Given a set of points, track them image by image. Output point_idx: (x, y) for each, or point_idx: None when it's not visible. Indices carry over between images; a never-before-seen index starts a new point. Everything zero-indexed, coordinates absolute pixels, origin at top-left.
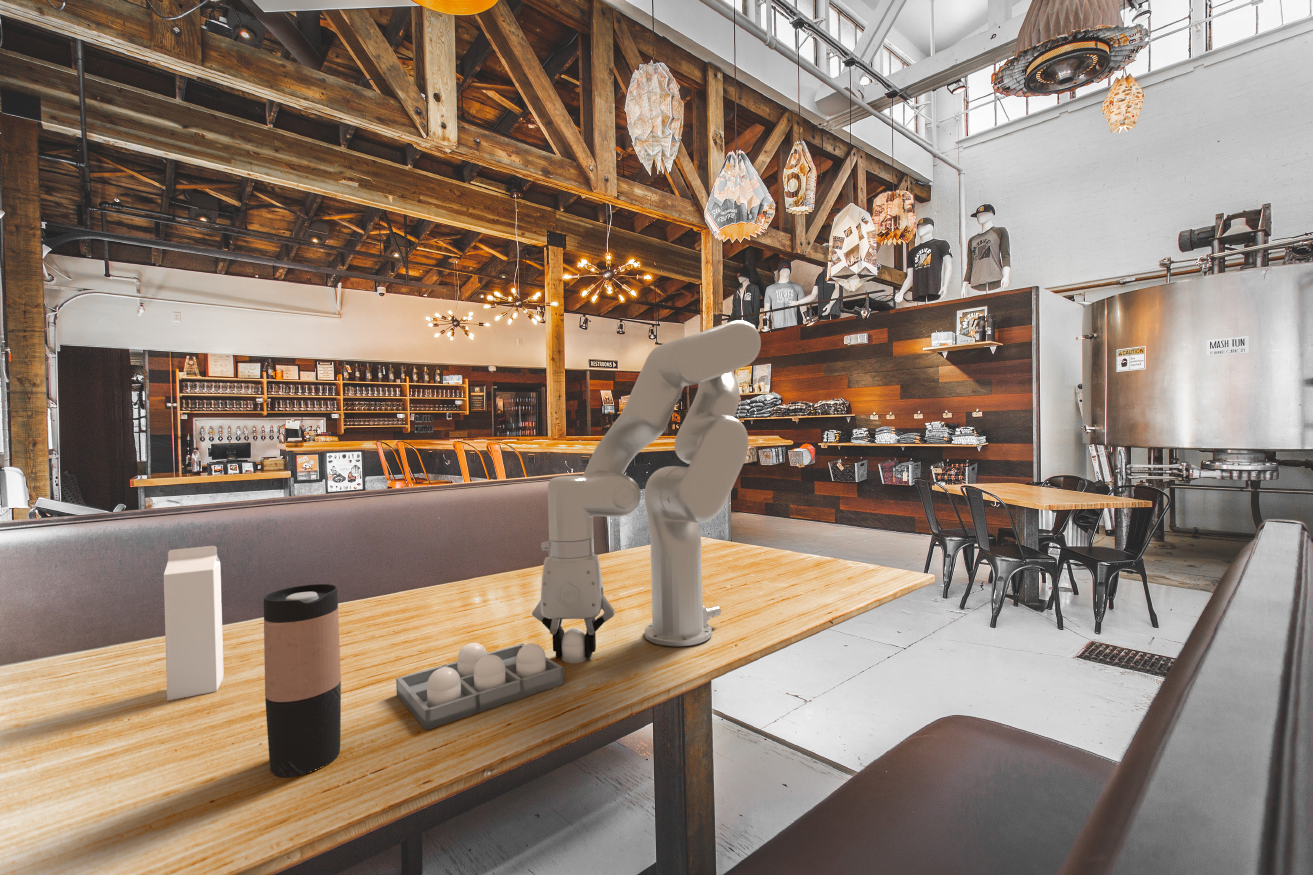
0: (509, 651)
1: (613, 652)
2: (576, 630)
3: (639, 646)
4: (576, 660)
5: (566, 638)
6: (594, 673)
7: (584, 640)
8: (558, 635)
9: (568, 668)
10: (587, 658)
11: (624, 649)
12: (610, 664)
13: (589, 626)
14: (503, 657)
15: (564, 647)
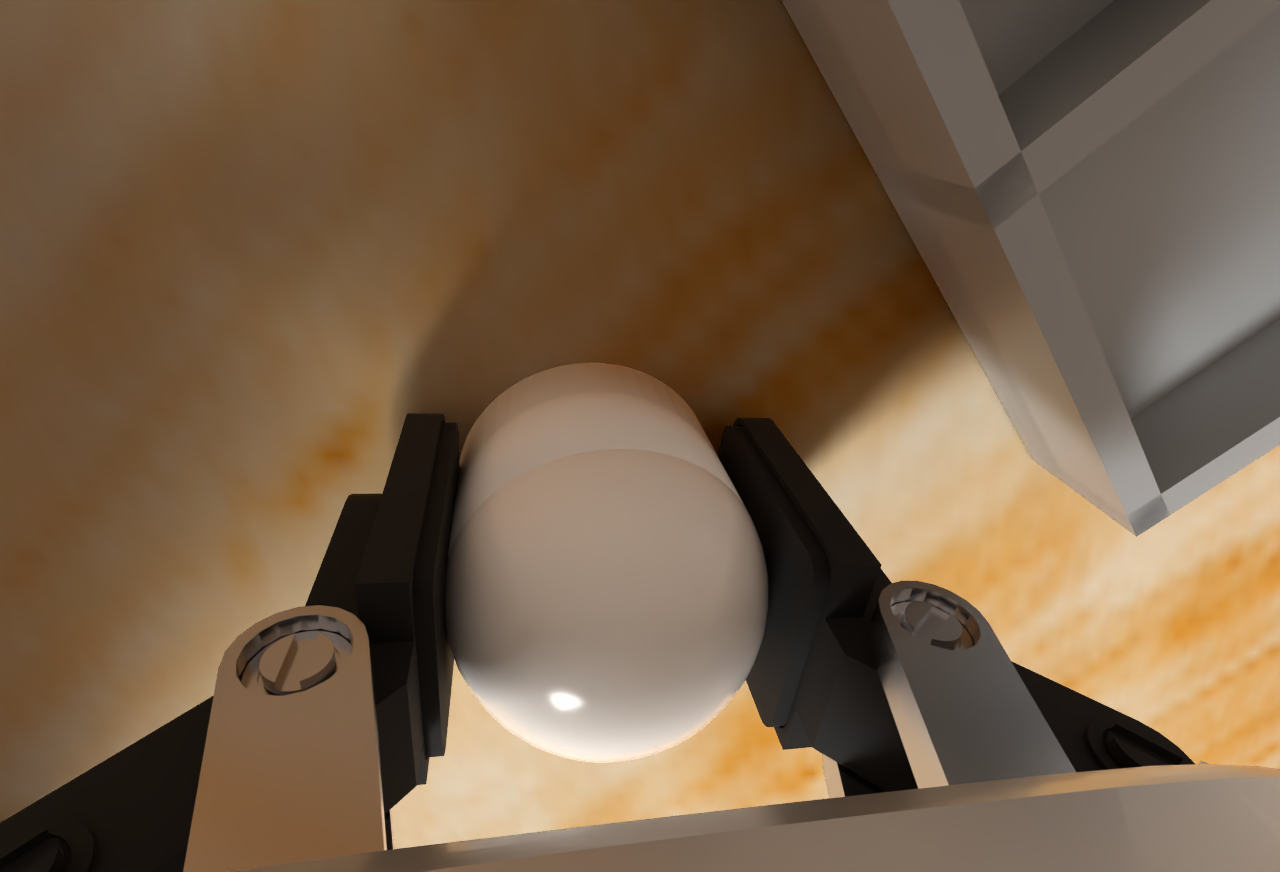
0: (1254, 397)
1: (225, 605)
2: (586, 686)
3: (5, 735)
4: (546, 379)
5: (709, 541)
6: (217, 31)
7: (457, 568)
8: (834, 572)
9: (604, 219)
10: (429, 415)
11: (136, 669)
12: (116, 321)
13: (298, 733)
14: (1274, 338)
15: (706, 460)
